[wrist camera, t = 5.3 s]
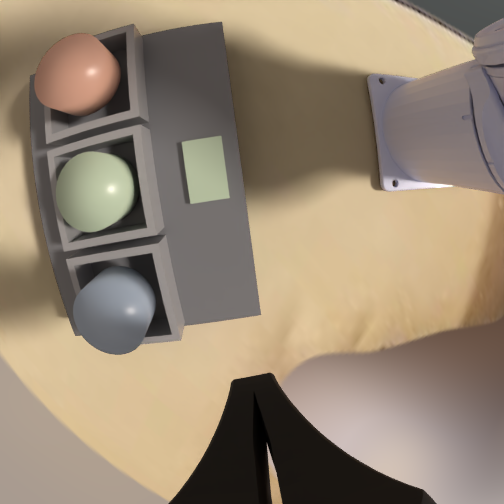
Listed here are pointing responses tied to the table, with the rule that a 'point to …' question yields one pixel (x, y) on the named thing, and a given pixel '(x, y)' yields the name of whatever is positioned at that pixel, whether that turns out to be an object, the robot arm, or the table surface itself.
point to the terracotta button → (77, 75)
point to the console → (158, 181)
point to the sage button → (96, 190)
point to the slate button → (115, 310)
